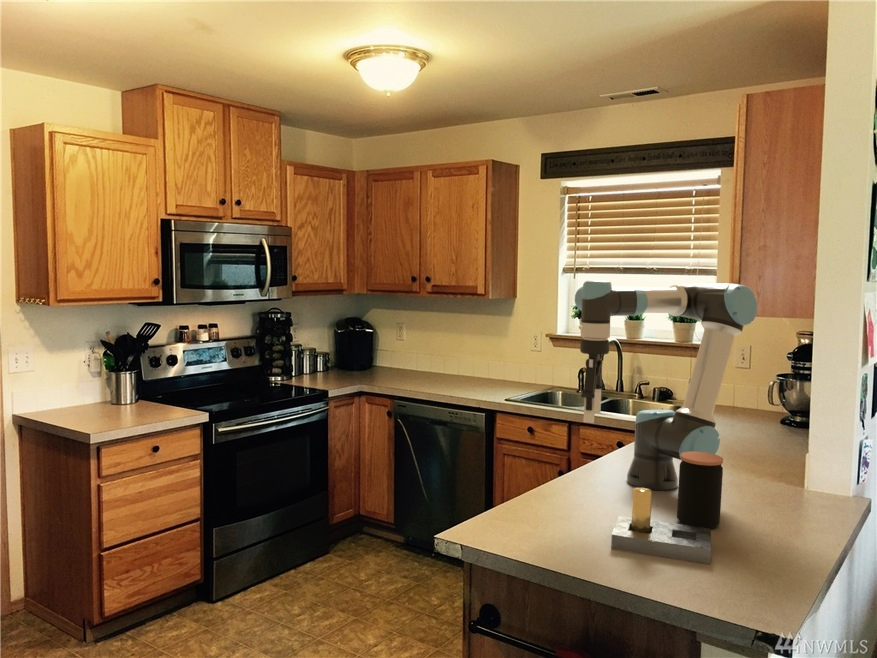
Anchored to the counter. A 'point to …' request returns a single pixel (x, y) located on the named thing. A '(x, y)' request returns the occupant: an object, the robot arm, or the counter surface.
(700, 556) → the block
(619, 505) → the counter surface
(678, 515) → the coffee jar
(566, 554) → the counter surface
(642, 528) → the yellow translucent cylinder
